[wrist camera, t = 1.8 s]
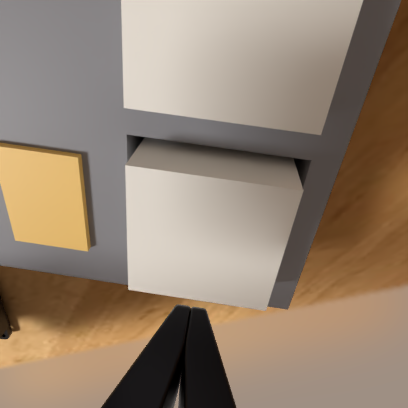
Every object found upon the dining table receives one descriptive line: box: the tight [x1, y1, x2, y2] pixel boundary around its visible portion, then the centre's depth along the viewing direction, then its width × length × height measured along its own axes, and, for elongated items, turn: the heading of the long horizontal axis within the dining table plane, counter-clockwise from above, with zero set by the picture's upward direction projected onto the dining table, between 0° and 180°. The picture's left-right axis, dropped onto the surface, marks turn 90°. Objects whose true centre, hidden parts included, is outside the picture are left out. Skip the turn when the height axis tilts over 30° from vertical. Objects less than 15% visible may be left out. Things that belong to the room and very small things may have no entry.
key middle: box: [121, 0, 363, 135], centre depth 9 cm, size 6×6×2 cm
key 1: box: [125, 137, 304, 311], centre depth 13 cm, size 6×6×2 cm
